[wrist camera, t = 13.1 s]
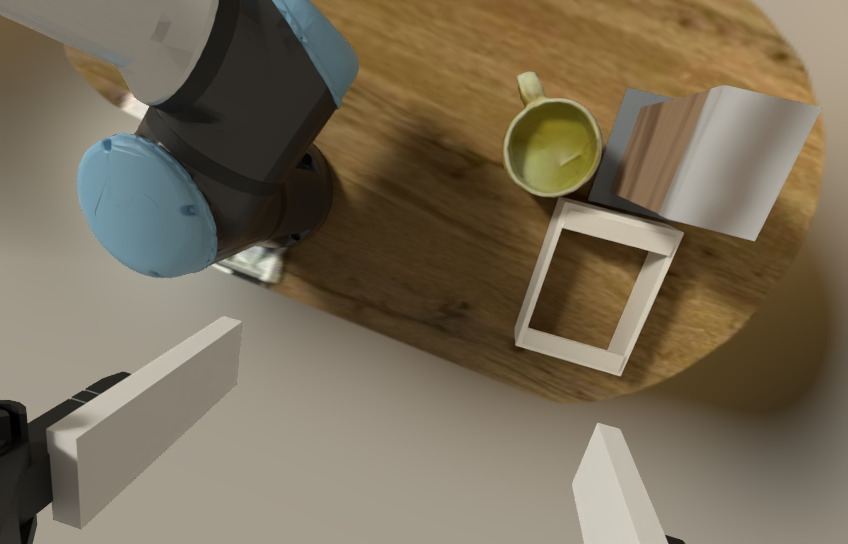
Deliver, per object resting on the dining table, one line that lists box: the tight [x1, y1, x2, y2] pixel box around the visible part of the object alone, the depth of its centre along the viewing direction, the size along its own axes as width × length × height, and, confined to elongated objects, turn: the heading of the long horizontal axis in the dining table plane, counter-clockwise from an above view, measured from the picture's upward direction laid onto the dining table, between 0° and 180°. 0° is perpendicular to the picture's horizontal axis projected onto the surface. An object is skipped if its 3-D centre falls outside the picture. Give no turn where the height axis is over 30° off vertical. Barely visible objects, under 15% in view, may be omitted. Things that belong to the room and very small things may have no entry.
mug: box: [501, 72, 603, 198], centre depth 44 cm, size 12×10×10 cm
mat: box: [587, 88, 678, 223], centre depth 46 cm, size 10×12×1 cm
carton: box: [514, 196, 684, 376], centre depth 49 cm, size 12×17×5 cm
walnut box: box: [609, 85, 822, 241], centre depth 38 cm, size 6×9×18 cm
